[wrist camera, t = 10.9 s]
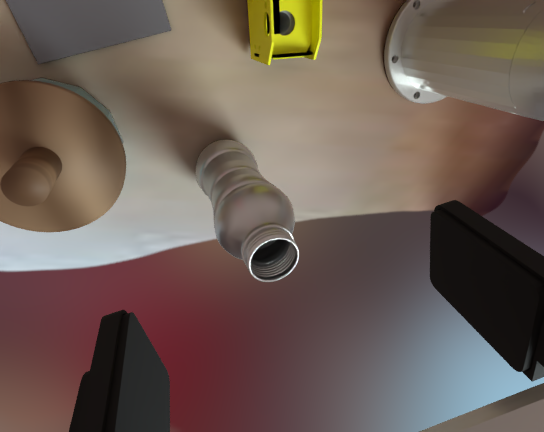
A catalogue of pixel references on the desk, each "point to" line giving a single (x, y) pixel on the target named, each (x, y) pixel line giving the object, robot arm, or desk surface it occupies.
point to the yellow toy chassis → (284, 29)
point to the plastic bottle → (248, 210)
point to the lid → (55, 158)
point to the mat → (85, 24)
